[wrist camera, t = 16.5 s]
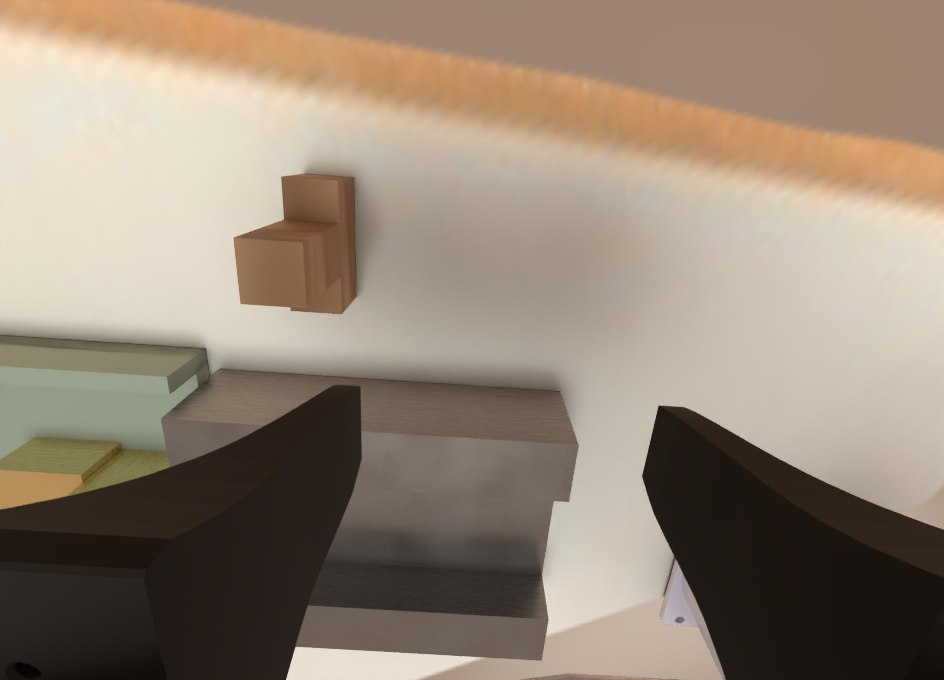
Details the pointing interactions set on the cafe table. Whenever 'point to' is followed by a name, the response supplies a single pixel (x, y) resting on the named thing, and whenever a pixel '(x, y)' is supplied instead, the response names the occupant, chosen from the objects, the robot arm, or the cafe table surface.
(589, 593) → the cafe table surface
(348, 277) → the stepped wooden block
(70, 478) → the tan wooden square block
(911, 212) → the cafe table surface
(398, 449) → the grey open tray
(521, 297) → the cafe table surface
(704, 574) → the robot arm
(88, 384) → the tray
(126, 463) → the tan square block
